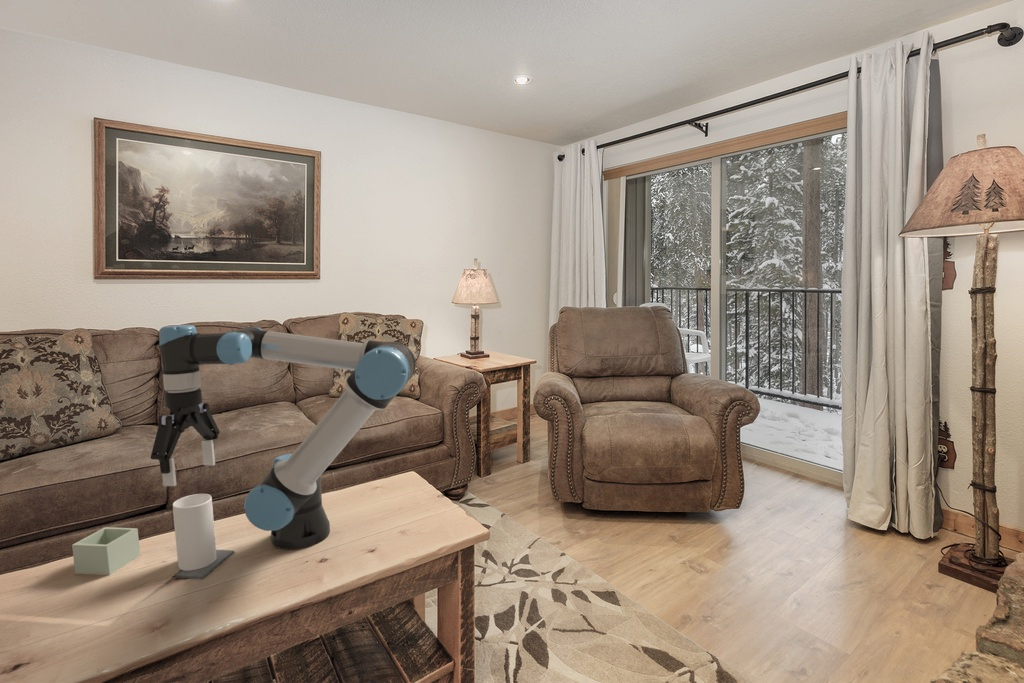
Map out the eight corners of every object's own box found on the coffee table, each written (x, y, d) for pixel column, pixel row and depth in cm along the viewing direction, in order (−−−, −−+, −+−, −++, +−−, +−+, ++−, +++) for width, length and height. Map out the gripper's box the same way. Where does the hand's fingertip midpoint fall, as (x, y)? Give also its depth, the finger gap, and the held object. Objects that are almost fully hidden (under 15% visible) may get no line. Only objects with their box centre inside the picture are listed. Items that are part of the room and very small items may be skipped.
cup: (198, 572, 124) (193, 509, 123) (169, 568, 126) (164, 506, 124) (224, 554, 132) (219, 495, 130) (196, 551, 134) (191, 492, 132)
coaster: (234, 552, 135) (234, 550, 135) (202, 578, 123) (202, 576, 123) (191, 550, 136) (191, 548, 136) (155, 576, 124) (155, 574, 124)
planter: (140, 558, 132) (137, 528, 131) (110, 578, 123) (106, 546, 123) (108, 556, 133) (105, 527, 132) (75, 576, 124) (72, 544, 123)
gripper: (203, 379, 137) (210, 457, 139) (125, 401, 112) (135, 495, 115) (230, 379, 136) (236, 457, 139) (157, 401, 112) (166, 495, 114)
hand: (190, 474), depth 127 cm, fingers open, 13 cm apart
